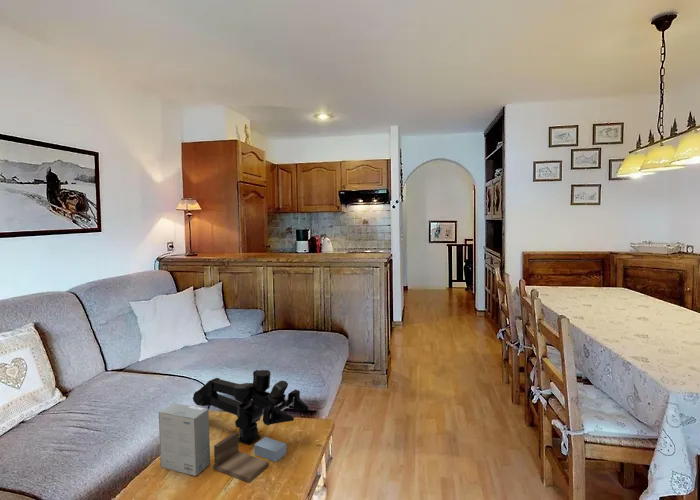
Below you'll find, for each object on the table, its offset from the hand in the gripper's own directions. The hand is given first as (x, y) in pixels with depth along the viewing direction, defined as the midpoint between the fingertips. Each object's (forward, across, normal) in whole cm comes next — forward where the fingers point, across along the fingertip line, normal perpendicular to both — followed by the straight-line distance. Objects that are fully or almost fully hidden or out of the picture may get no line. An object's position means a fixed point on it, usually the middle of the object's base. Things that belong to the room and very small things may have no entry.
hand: (301, 413), depth 139 cm
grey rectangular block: (-10, -3, +18) cm, 20 cm away
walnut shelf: (-13, -14, +18) cm, 27 cm away
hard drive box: (-31, -23, +20) cm, 43 cm away
